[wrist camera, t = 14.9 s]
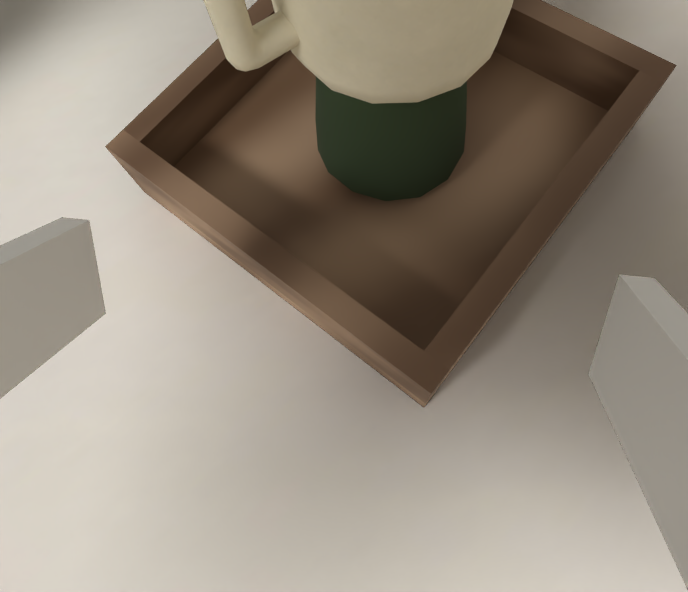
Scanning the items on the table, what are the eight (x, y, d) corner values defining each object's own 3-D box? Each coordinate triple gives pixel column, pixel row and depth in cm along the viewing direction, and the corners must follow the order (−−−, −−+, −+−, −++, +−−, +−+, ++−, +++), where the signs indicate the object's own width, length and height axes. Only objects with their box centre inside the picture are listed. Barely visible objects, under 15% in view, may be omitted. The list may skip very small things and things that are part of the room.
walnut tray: (143, 191, 24) (105, 146, 21) (356, -23, 27) (352, -91, 24) (424, 407, 20) (431, 394, 17) (635, 123, 23) (676, 65, 20)
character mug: (441, 35, 24) (495, -405, 12) (542, 138, 22) (732, -277, 10) (244, 153, 23) (83, -207, 11) (330, 274, 21) (249, -8, 9)
